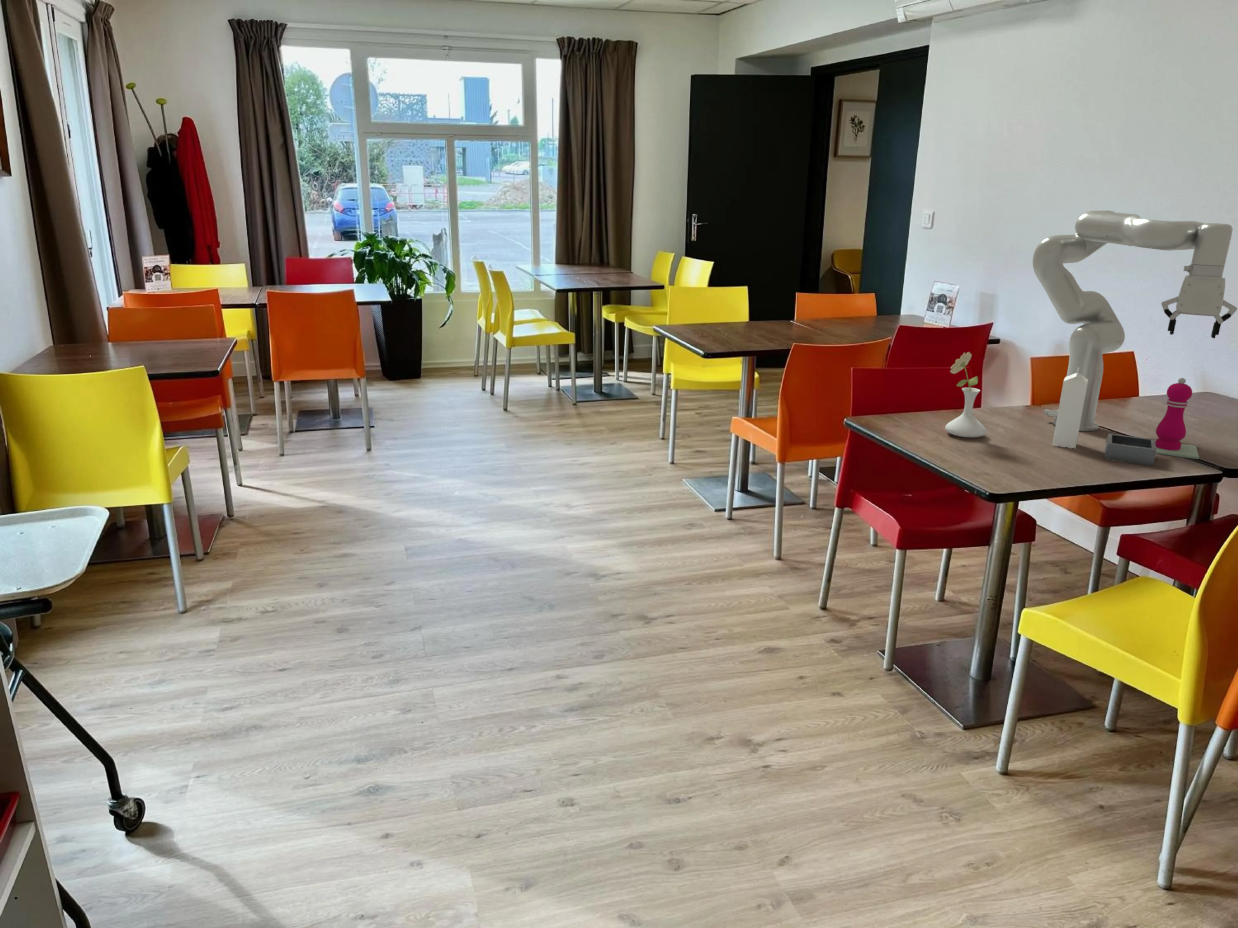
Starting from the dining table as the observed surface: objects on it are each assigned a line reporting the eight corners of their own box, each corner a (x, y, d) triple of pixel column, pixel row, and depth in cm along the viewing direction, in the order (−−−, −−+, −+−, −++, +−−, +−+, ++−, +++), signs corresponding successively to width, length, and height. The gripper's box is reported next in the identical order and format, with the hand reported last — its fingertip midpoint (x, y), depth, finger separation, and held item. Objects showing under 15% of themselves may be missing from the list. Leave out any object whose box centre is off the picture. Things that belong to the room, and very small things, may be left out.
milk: (1076, 444, 254) (1091, 368, 247) (1075, 449, 249) (1090, 372, 242) (1053, 440, 256) (1067, 366, 249) (1051, 445, 251) (1065, 369, 244)
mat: (1140, 451, 247) (1140, 449, 247) (1139, 440, 257) (1139, 438, 257) (1198, 459, 241) (1199, 457, 241) (1195, 447, 251) (1195, 445, 251)
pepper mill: (1186, 451, 245) (1202, 381, 239) (1158, 450, 247) (1173, 380, 240) (1176, 444, 252) (1191, 375, 246) (1148, 442, 253) (1163, 374, 247)
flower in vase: (968, 428, 267) (979, 346, 259) (993, 439, 257) (1007, 354, 249) (931, 431, 263) (942, 348, 256) (956, 442, 253) (968, 356, 245)
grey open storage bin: (1104, 459, 240) (1107, 443, 238) (1105, 448, 249) (1108, 433, 248) (1152, 466, 235) (1156, 450, 233) (1151, 454, 244) (1154, 439, 243)
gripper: (1169, 270, 235) (1155, 334, 240) (1246, 275, 227) (1231, 341, 233) (1167, 268, 241) (1154, 330, 247) (1243, 272, 233) (1228, 336, 239)
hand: (1191, 335), depth 240 cm, fingers open, 9 cm apart
